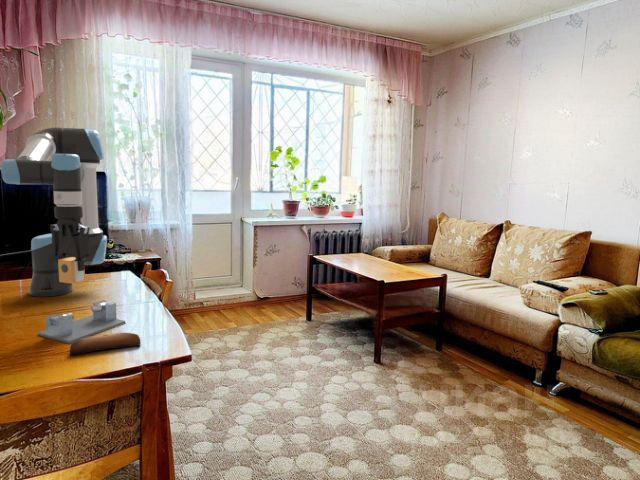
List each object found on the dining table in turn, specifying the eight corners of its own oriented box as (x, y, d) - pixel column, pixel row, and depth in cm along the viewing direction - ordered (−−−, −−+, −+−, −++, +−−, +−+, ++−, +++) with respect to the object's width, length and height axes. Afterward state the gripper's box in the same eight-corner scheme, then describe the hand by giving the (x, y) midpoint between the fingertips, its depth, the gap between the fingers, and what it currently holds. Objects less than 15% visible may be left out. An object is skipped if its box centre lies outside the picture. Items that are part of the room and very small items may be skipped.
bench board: (38, 334, 136) (37, 332, 136) (95, 316, 154) (95, 314, 154) (69, 343, 131) (69, 341, 130) (125, 323, 149) (125, 320, 148)
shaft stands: (46, 334, 135) (45, 316, 134) (103, 316, 153) (103, 299, 152) (60, 338, 132) (58, 319, 131) (116, 318, 150) (115, 302, 149)
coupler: (59, 281, 139) (57, 259, 138) (73, 278, 144) (72, 256, 143) (71, 283, 138) (70, 261, 137) (85, 280, 143) (84, 258, 142)
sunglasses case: (138, 336, 138) (138, 321, 134) (140, 355, 133) (141, 340, 129) (70, 345, 129) (69, 330, 125) (70, 365, 125) (69, 350, 121)
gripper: (35, 204, 137) (40, 279, 140) (80, 207, 131) (84, 285, 134) (57, 203, 144) (61, 274, 147) (101, 206, 138) (104, 280, 141)
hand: (72, 279), depth 141 cm, fingers closed on coupler, 5 cm apart
